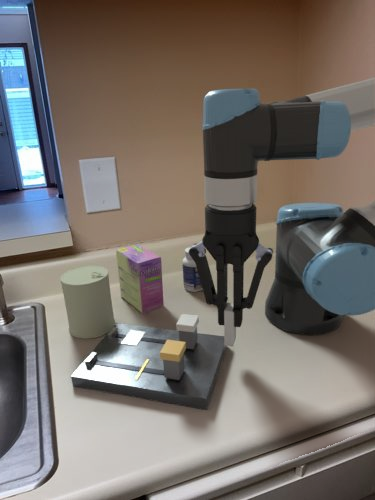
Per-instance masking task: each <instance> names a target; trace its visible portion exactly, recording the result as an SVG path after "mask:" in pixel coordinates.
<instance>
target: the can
mask: <svg viewBox="0 0 375 500" xmlns="http://www.w3.org/2000/svg"><path fill="white" fill-rule="evenodd" d="M109 277H110V276H109V270H108V269H107V268H106V267H103V266H100V265H82V266H77V267H73V268H72V269H69V270H67V271H65V272H64V273H63V274H61V275H60V278H59V280H60V281H59V282H60V283H61V290H62V294H63V299H64V303H65V310H66V315H67V323H68V332H69V334H70V335H71V336H73V337H74V338H77V339H82V340H84V339H85V340H86V339H87V340H90V339H95V338H99V337H101V336H104V335H106V334H107V333H108V332H109V331H110V330H111V328H112V327H113V326H114V325H115V324H116V319H115V316H114V310H113V304H112V295H111V287H110V286H111V284H110V280H109V279H110V278H109Z"/></svg>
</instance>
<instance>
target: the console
mask: <svg viewBox="0 0 375 500" xmlns="http://www.w3.org/2000/svg"><path fill="white" fill-rule="evenodd" d="M104 335H105V336H104V337H103V338H102V339H101V340H100V341H99V343H98V344H97V345H96V346H95V347H94V349H93V350H92V351H91V352H90V353H89V354H88V355H87V356H86V358H85V359H84V360H83V362H81V364H80V365H79V366H78V367H77V369H75V370H74V372H73V373H72V374H71V376H70V378H71V384H72V387H75V388H81V389H86V390H90V391H91V390H92V391H97V392H103V393H109V394H114V395H118V396H119V395H121V396H126V397H131V398H136V399H144V400H149V401H154V402H158V403H159V402H160V403H165V404H171V405H176V406H182V407H188V408H194V409H200V410H205V411H207V410H208V407H209V404H210V401H211V398H212V396H213V392H214V388H215V385H216V382H217V379H218V376H219V373H220V370H221V366H222V364H223V361H224V357H225V354H226V351H227V349H228V346H225V345H224V336H223V335H218V334H217V335H216V334H209V333H199V332H197V339H198V340H197V342H196V345H195V347H194V349H187V348H186V350H185V352H184V365H185V369H184V371H183V373H182V376H181V378H180V380H175V379H169V378H165V377H164V365H163V359H160V351H161V350H162V348H163V346H164V344H165V343H166V341H167V340H174V341H179V331H178V330H177V329H175V330H174V329H167V328H159V327H158V328H157V327H151V326H144V325H143V326H142V325H141V326H140V325H133V324H126V323H118V322H117V323H116V322H115V325H114V326H113V327H112V328H111V330H110V331H109V332H108V333H106V334H104Z"/></svg>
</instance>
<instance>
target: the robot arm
mask: <svg viewBox="0 0 375 500" xmlns="http://www.w3.org/2000/svg"><path fill="white" fill-rule="evenodd" d="M202 102H203V103H202V104H203V105H202V106H203V109H202V111H203V113H202V127H201V128H202V147H203V173H204V174H203V176H204V178H203V181H204V182H203V183H204V184H203V185H204V197H203V198H204V202H205V203H206V206H205V207H204V225H205V226H204V229H205V230H204V231H205V232H204V235H203V237H202V239H201V241H200V242H198V243H194V244H192V245H191V246H190V247H191V248H190V250H189V254H190V256H191V257H192V259H193V260H194V262H195V264H196V267H197V271H198V274H199V278H200V281H201V285H202V288H203V290H202V292H203V295H204V299H205V302H206V304H207V305H209V306H212V305H213V306H215V307H216V308H217V323H218V325H219V326H223V329H224V334H223V335H224V345H225V346H227V347H234V346H235V342H236V339H237V328H241V326H242V323H243V319H244V318H243V313H244V310H245V309H249V310H250V309H252V308H253V306H254V303H255V300H256V297H257V292H258V289H259V287H260V282H261V280H262V278H263V277H262V276H263V273H264V271H265V268H266V267H267V265H268V264H269V263H271V261H272V260H273V259H272V258H273V254H274V249H273V248H271V247H265V246H264V245H262V244H261V243H260V239H259V237H258V235H257V206H256V204H255V203H256V202H257V200H258V198H257V197H258V165H259V162H269V161H285V160H288V161H291V160H317V161H319V160H321V159H329V158H337V157H339V156H340V155H342V154H343V152H345V150H346V148H347V147H348V145H349V141H350V138H351V132H354V131H359V130H361V129H366V128H370V127H373V126H374V127H375V77H371V78H368V79H365V80H364V79H363V80H361V81H356V82H353V83H347V84H345V85H341V86H337V87H332V88H329V89H325V90H321V91H317V92H313V93H310V94H306V95H304V96H300V97H299V96H298V97H293V98H290V99H286V100H283V101H273V102H269V103H262V100H261V99H260V92H259V91H258V89H256V88H229V89H216V90H215V89H214V90H210V91H208V92H207V93H206V95H205V96H204V98H203V101H202ZM276 218H277V219H276V221H275V224H276V236H275V238H276V240H275V241H276V243H275V265H274V266H275V267H274V268H275V270H274V279H273V282H272V284H271V286H270V289H269V292H268V294H267V297H266V299H265V303H264V304H265V305H264V314H265V315H264V316H265V317H266V318H267V320H268V321H269V322H270V323H271V324H272V325H274V326H276V327H277V328H279V329H281V330H284V331H287V332H289V333H294V334H299V335H313V336H314V335H323V334H326V333H330V332H333V331H334V330H336V329H338V328H340V326H341V325H342V323H343V316H345V315H346V316H350V317H351V316H353V317H354V316H360V315H364V314H365V315H366V314H367V313H371V312H373V311H375V199H374V200H373V201H372V202H370V203H369V205H366V206H350V207H349V208H348V209H347V210H345V211H344V208H343V207H342V206H341V205H339V204H336V203H335V204H334V203H327V202H325V203H324V202H302V203H301V202H300V203H292V204H291V203H290V204H286V205H283V206H281V207H280V208H279V209H278V211H277V217H276ZM207 252H208V253H209V254H210V256H211V257H212V258H213V260H214V261H215V270H216V287H215V284H214V280H213V277H212V276H213V275H212V272H211V269H210V266H209V265H210V264H209V262H208V258H207V255H206V254H207ZM255 252H256V254H255V259H256V261H257V263H256V266H255V270H254V273H253V276H252V278H251V283H250V286H249V289H248V293H247V295H246V296H245V297H244V276H245V275H244V274H245V273H244V271H245V266H244V265H245V263H246V262H247V261H248V259H249V258H250V257H251V256H252V255H253V254H254V253H255ZM229 265H232V273H233V277H232V278H233V289H232V290H233V294H232V295H233V297H232V298H233V302H228V301H229V300H228V299H229V297H228V266H229Z"/></svg>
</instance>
